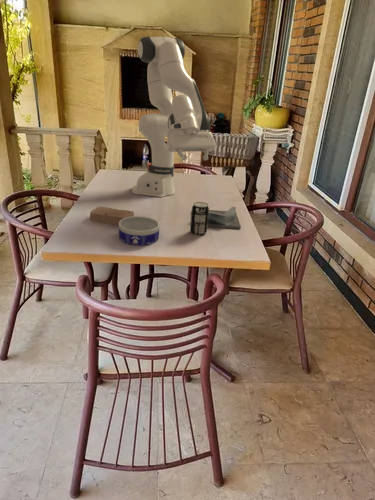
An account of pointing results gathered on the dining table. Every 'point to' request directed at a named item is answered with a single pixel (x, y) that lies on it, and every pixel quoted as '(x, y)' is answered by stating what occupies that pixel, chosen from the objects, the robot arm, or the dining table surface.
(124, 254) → the dining table surface
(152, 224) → the dog bowl
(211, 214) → the v block
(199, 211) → the beverage can
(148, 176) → the robot arm
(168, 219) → the dining table surface
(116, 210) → the brick
